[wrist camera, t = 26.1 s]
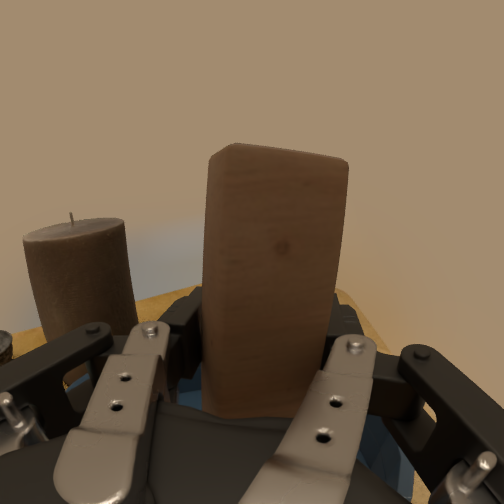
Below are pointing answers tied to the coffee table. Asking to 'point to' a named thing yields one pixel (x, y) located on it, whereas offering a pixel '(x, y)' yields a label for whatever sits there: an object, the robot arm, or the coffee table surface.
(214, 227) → the wooden block
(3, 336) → the salt shaker
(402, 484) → the bowl
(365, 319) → the coffee table surface
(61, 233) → the pillar candle
